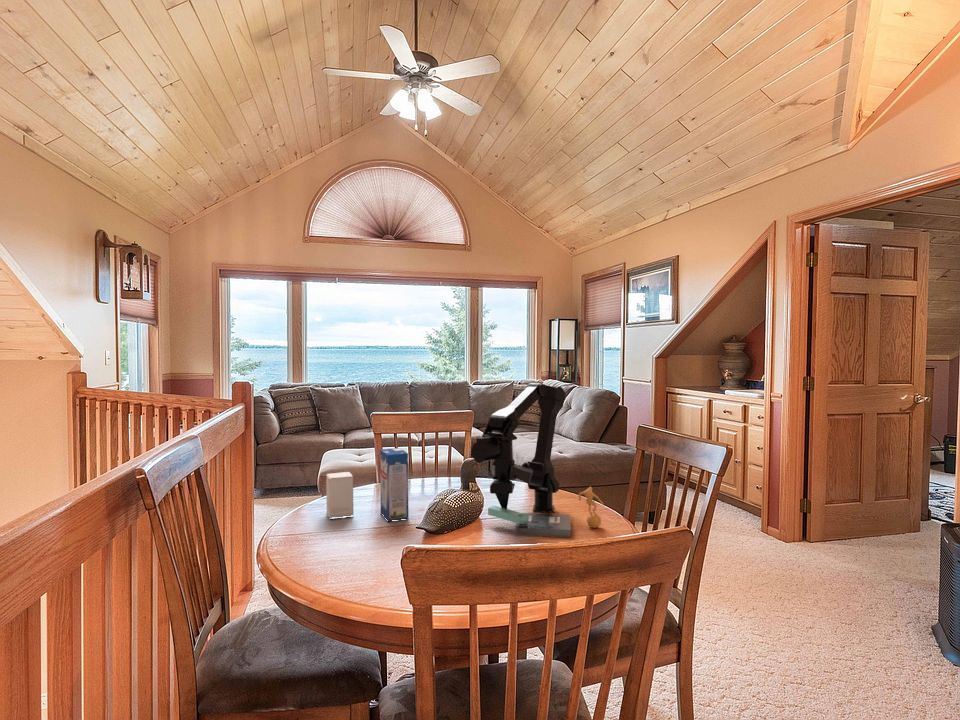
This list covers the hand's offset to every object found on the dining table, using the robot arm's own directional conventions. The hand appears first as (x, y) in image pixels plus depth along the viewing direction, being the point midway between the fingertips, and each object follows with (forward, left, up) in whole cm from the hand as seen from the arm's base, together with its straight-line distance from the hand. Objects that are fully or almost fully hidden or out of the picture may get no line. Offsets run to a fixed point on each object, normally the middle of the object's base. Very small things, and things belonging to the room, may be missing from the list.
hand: (504, 510), depth 157 cm
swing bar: (+4, +2, -1) cm, 5 cm away
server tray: (+2, +11, -4) cm, 12 cm away
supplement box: (-2, -51, -4) cm, 51 cm away
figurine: (+1, +25, -4) cm, 25 cm away
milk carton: (-3, -34, -4) cm, 35 cm away
